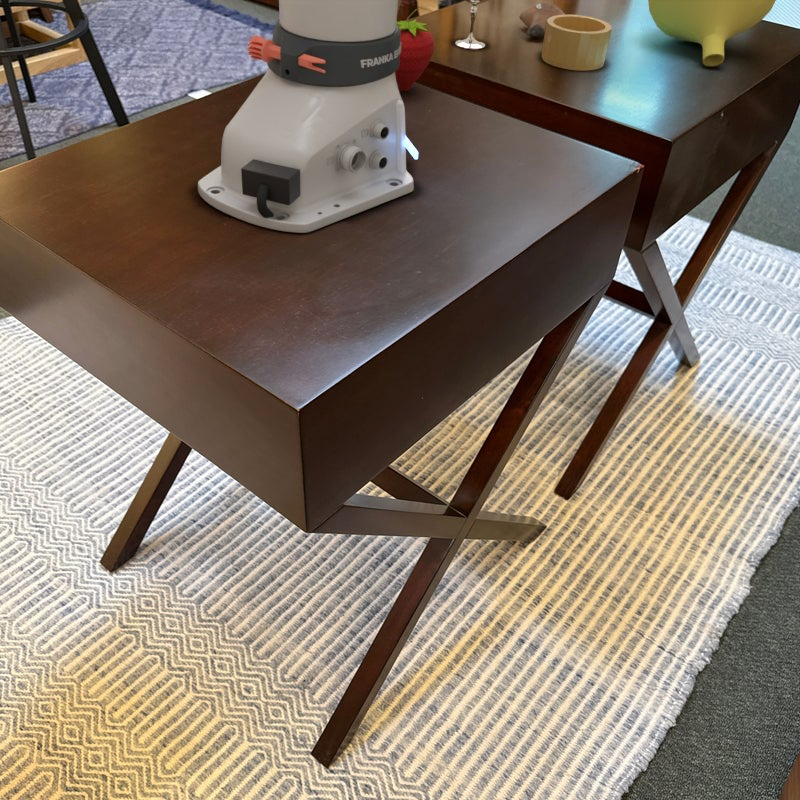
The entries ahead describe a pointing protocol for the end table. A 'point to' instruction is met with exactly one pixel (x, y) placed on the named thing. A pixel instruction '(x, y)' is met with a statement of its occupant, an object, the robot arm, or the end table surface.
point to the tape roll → (576, 42)
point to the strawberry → (413, 52)
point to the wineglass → (470, 41)
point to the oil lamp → (539, 18)
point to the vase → (708, 21)
